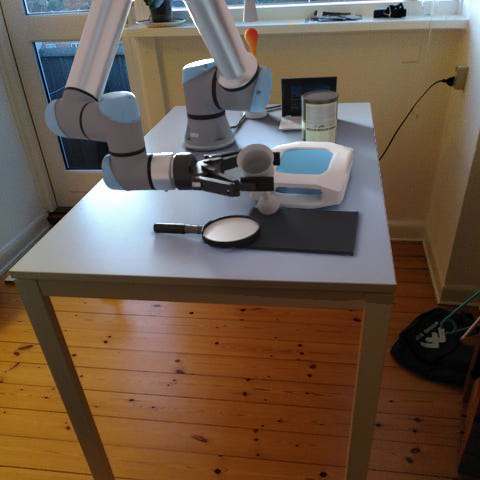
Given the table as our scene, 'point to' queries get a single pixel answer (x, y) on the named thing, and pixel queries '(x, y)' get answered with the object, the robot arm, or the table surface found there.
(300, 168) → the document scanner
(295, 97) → the laptop
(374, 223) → the table surface
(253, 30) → the lava lamp
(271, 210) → the chalice
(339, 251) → the mat
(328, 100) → the coffee can
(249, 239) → the magnifying glass
